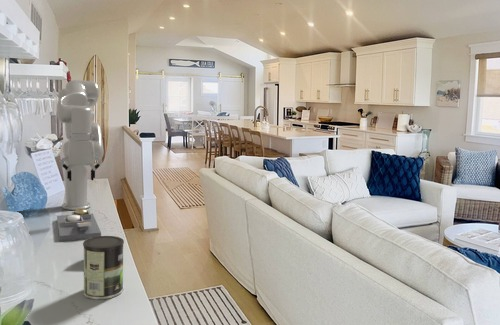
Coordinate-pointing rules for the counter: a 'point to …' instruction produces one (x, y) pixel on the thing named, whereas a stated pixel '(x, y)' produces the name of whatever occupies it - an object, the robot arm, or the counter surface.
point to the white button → (73, 218)
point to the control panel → (77, 228)
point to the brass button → (81, 211)
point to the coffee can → (103, 267)
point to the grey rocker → (83, 224)
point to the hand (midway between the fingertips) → (81, 179)
